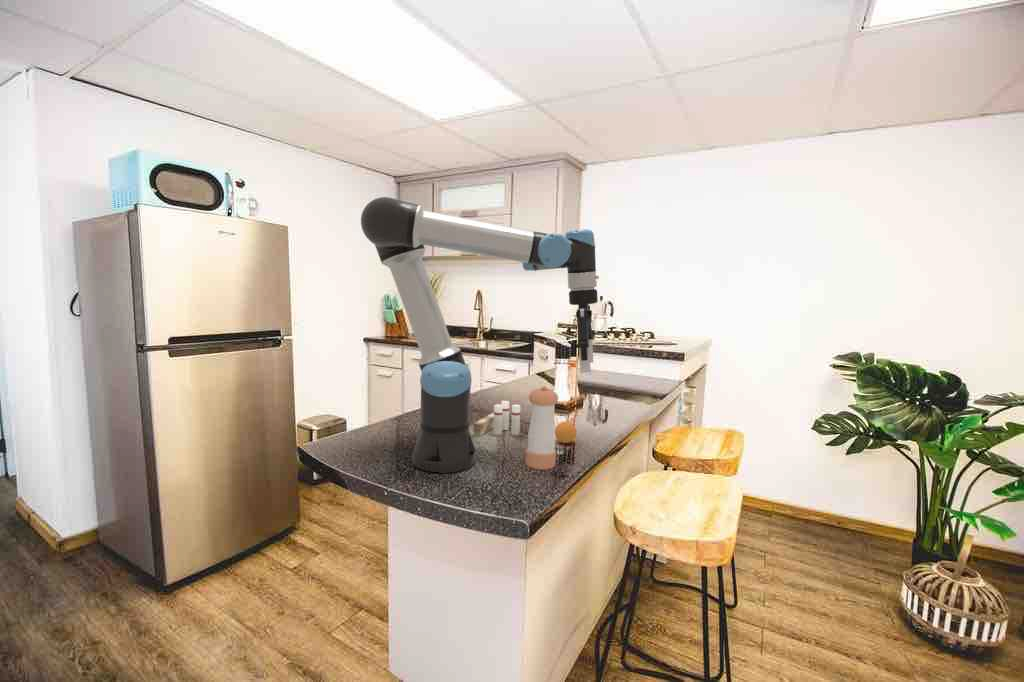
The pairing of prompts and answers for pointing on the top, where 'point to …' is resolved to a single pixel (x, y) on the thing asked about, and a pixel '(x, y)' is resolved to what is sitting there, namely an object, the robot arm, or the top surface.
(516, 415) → the front pin
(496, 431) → the pin
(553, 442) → the salt shaker
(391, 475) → the top surface
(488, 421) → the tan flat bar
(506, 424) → the pin
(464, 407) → the robot arm
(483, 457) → the top surface
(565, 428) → the ball
